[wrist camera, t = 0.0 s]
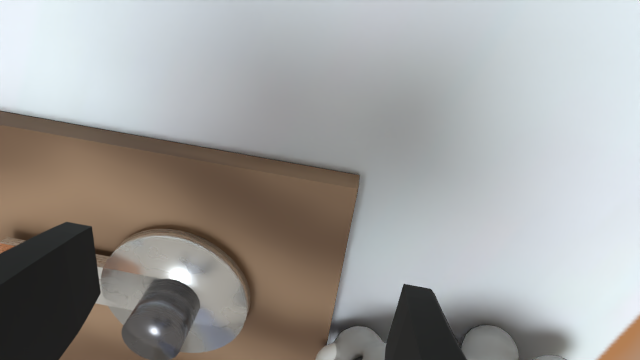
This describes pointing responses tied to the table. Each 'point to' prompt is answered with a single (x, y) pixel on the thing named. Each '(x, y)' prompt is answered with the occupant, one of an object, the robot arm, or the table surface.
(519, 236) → the table surface
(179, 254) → the dial plate
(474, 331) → the chubby cartoon animal
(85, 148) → the walnut board
